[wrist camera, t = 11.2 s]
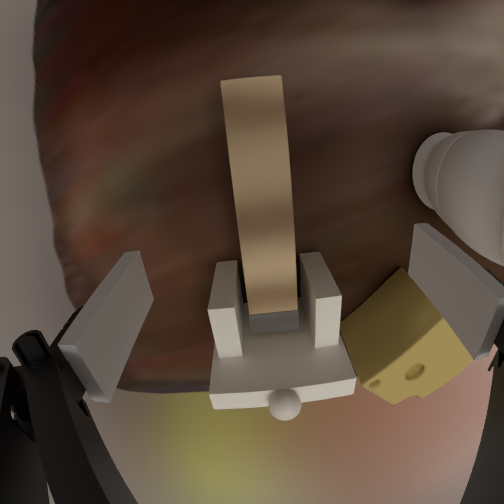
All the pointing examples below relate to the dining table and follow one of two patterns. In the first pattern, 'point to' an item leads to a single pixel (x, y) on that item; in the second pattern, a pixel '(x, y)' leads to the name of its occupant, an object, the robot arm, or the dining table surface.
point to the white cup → (465, 186)
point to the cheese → (402, 342)
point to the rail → (263, 199)
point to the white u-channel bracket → (278, 346)
